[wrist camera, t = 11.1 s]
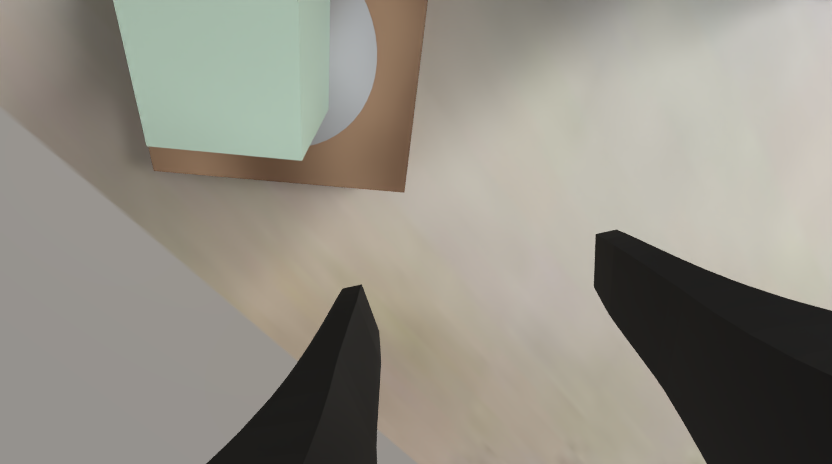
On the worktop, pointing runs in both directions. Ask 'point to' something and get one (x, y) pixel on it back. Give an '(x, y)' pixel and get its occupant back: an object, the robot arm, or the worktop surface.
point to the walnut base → (345, 107)
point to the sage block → (229, 73)
